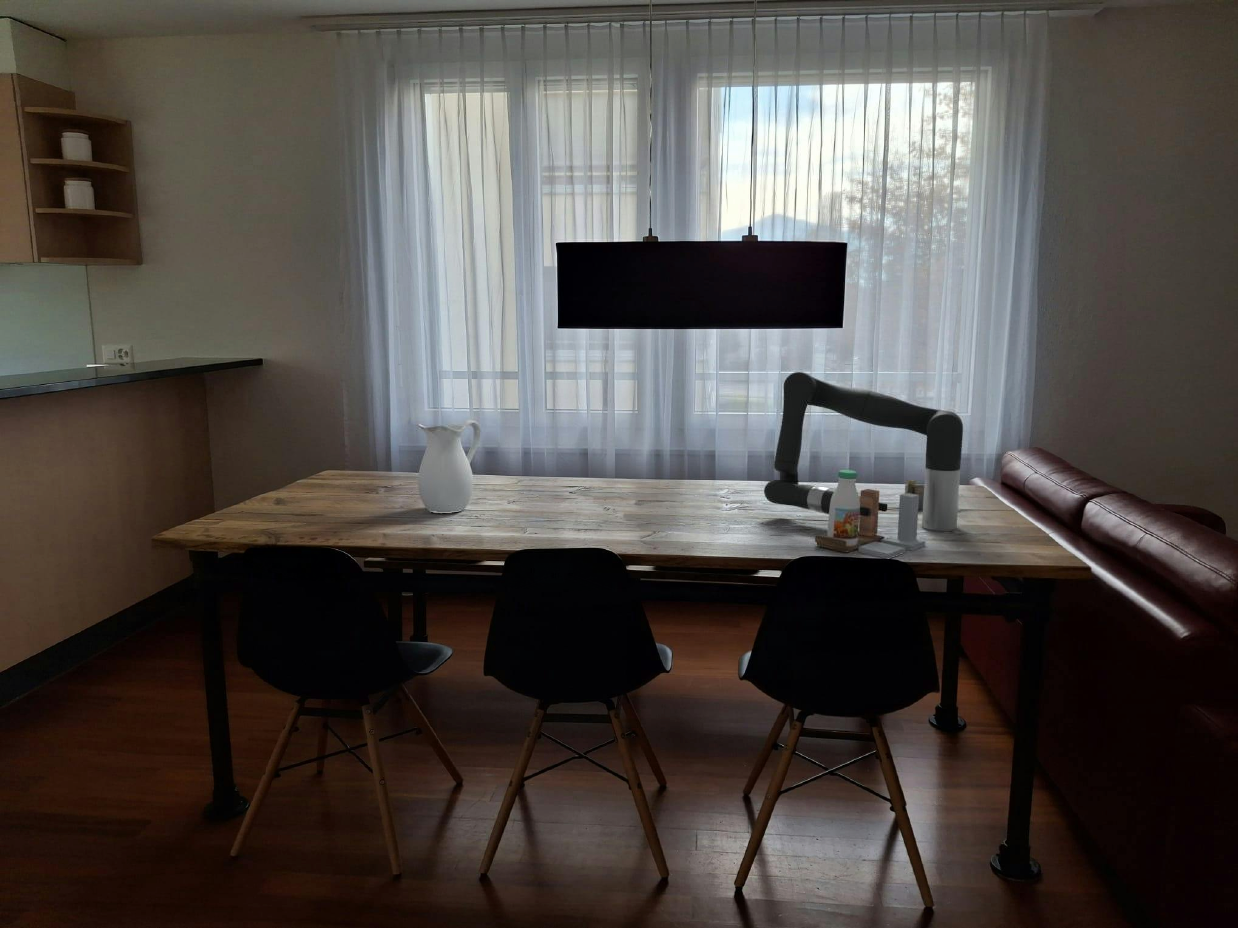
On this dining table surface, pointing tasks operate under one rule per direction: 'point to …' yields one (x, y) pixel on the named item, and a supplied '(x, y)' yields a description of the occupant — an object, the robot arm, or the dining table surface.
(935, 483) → the robot arm
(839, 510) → the milk bottle
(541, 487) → the dining table surface
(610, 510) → the dining table surface
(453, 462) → the pitcher
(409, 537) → the dining table surface
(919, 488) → the ruin model on sheet
